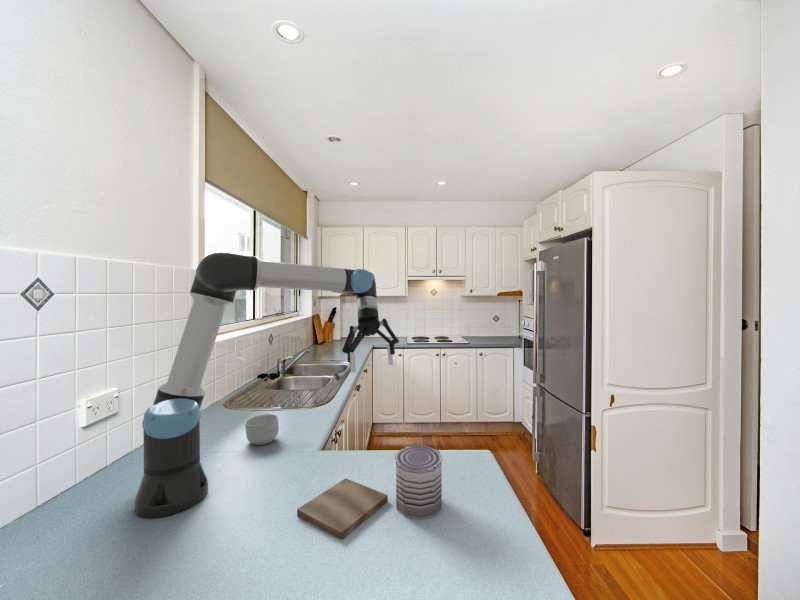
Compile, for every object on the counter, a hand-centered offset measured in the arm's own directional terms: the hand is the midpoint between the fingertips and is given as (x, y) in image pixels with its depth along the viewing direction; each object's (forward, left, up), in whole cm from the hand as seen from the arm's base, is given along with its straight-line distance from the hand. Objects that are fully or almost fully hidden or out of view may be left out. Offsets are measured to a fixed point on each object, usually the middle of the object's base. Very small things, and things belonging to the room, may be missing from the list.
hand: (371, 368), depth 114 cm
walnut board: (-30, -16, -26) cm, 43 cm away
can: (-19, -30, -27) cm, 44 cm away
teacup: (-17, +35, -27) cm, 47 cm away
